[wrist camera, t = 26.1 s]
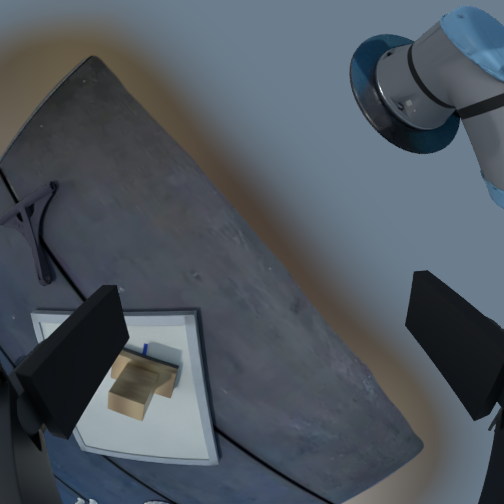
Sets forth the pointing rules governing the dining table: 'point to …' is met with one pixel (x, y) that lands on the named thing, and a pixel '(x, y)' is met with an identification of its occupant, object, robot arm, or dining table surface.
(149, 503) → the mooncake
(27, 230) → the bracket
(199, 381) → the board
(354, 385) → the dining table surface
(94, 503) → the game piece set
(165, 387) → the eraser
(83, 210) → the dining table surface
